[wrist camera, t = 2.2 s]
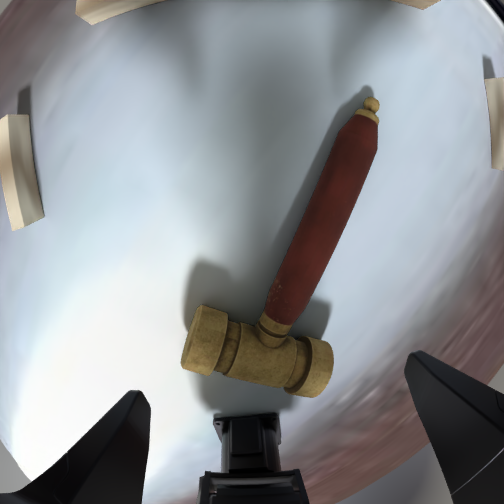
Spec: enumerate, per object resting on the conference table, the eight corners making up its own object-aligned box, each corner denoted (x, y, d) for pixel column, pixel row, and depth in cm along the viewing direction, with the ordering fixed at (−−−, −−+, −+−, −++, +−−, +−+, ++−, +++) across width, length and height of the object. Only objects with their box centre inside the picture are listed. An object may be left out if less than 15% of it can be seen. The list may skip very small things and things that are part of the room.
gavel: (311, 45, 11) (451, 137, 13) (292, 71, 15) (412, 139, 17) (176, 380, 16) (310, 409, 18) (184, 341, 21) (298, 371, 22)
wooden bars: (500, 168, 16) (519, 173, 14) (32, 220, 16) (12, 231, 14) (477, 21, 11) (494, 16, 9) (17, 51, 11) (-1, 47, 9)
